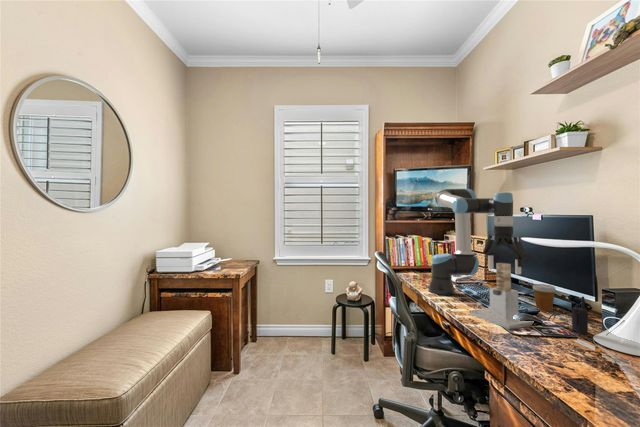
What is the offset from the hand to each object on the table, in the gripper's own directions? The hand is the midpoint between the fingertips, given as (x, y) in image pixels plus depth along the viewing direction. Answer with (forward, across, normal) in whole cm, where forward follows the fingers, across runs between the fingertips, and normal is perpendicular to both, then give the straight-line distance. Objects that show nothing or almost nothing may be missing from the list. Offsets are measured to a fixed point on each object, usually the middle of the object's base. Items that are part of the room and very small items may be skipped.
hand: (503, 271), depth 134 cm
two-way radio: (+22, +22, +14) cm, 34 cm away
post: (+20, 0, 0) cm, 20 cm away
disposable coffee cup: (+22, -2, +31) cm, 38 cm away
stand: (+22, 0, 0) cm, 22 cm away
